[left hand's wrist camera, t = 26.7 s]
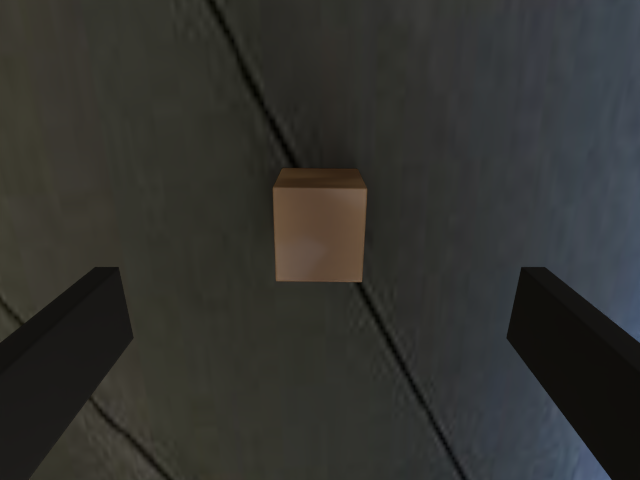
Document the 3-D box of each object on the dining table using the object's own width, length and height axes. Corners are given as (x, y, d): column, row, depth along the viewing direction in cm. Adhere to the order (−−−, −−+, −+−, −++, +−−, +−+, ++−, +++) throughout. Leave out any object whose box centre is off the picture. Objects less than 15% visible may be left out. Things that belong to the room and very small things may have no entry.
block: (358, 168, 22) (367, 188, 18) (354, 247, 24) (362, 282, 20) (281, 167, 22) (272, 187, 18) (283, 246, 24) (275, 281, 20)
